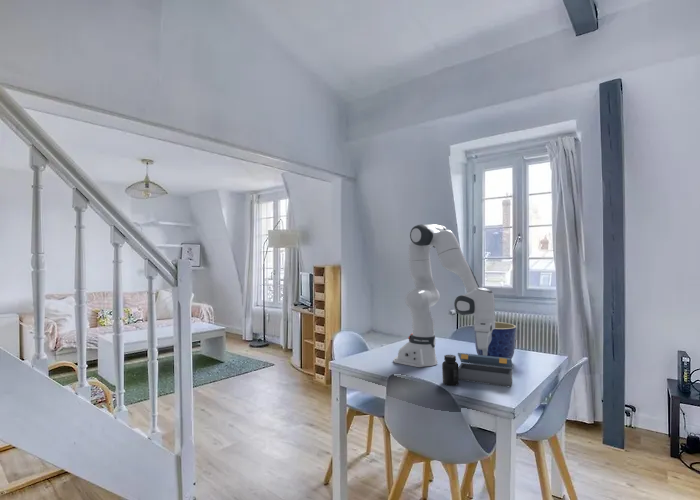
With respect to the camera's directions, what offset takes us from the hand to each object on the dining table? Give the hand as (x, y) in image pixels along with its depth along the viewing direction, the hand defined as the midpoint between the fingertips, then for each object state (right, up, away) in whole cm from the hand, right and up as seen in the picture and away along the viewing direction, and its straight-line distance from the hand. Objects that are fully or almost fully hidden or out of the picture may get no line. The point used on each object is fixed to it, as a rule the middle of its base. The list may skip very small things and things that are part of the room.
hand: (485, 355), depth 174 cm
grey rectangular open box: (0, -11, 0) cm, 11 cm away
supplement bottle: (-17, -11, -4) cm, 21 cm away
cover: (0, -4, 0) cm, 4 cm away
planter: (+15, -11, +29) cm, 35 cm away
